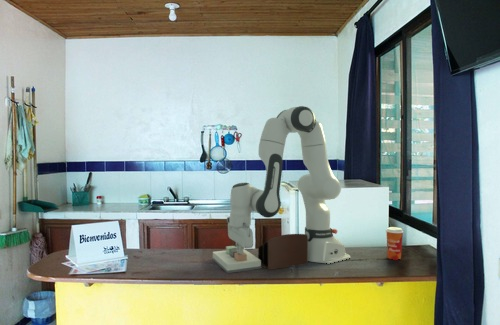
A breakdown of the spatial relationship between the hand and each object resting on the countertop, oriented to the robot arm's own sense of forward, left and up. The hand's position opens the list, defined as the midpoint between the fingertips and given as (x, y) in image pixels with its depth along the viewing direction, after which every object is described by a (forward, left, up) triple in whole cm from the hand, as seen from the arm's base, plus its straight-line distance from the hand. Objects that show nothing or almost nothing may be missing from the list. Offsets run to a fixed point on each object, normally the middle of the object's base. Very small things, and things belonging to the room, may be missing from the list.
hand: (240, 253), depth 151 cm
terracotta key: (0, 0, -3) cm, 3 cm away
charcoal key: (0, -6, -3) cm, 6 cm away
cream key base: (0, -5, -6) cm, 8 cm away
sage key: (0, -11, -3) cm, 11 cm away
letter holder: (-20, +2, -7) cm, 21 cm away
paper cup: (-71, +16, -6) cm, 73 cm away
